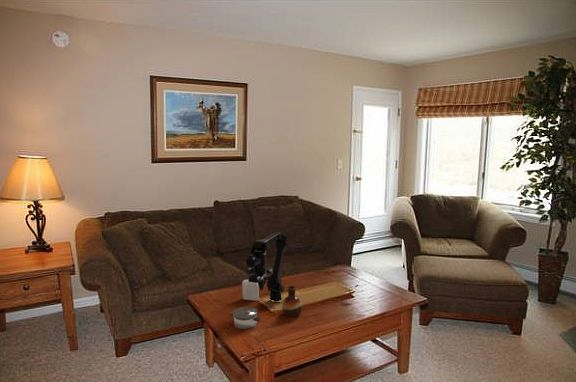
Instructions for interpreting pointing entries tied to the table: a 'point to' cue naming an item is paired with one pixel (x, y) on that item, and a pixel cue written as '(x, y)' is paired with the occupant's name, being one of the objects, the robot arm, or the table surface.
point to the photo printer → (250, 290)
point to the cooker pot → (245, 322)
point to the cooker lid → (245, 313)
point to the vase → (291, 303)
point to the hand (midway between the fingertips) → (261, 289)
